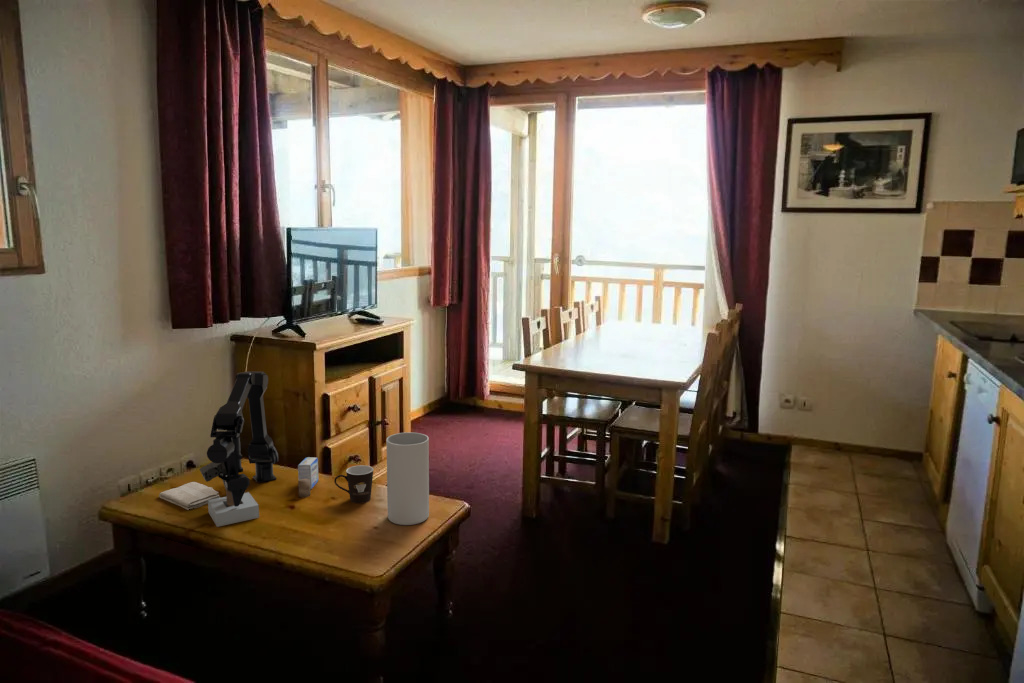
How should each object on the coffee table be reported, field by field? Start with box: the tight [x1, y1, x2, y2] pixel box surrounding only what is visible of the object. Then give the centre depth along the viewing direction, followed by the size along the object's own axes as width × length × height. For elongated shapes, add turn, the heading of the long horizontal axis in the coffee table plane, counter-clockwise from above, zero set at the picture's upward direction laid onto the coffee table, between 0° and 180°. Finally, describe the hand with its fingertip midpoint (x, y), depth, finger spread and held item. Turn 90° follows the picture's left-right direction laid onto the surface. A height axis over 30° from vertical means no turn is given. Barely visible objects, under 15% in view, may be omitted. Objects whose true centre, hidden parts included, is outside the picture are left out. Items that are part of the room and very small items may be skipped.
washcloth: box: [158, 481, 222, 511], centre depth 219 cm, size 12×18×3 cm, turn 57°
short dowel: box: [298, 479, 311, 498], centre depth 223 cm, size 4×4×5 cm
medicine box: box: [297, 456, 319, 490], centre depth 231 cm, size 8×4×9 cm, turn 179°
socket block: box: [207, 491, 260, 528], centre depth 207 cm, size 12×12×4 cm
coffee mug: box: [334, 464, 374, 504], centre depth 220 cm, size 12×9×10 cm
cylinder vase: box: [386, 432, 430, 526], centre depth 205 cm, size 12×12×25 cm
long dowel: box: [225, 489, 240, 507], centre depth 206 cm, size 4×4×9 cm
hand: (233, 501), depth 206 cm, fingers open, 9 cm apart
